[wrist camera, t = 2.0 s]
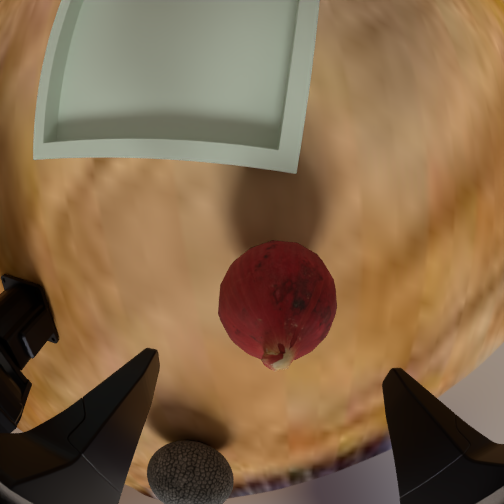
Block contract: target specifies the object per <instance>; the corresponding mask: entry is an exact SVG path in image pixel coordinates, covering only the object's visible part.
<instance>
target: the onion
mask: <svg viewBox="0 0 504 504" xmlns="http://www.w3.org/2000/svg"><path fill="white" fill-rule="evenodd" d="M336 309H337V302H336V289H335V284H334V279H333V278H332V276H331V274H330V273H329V271H328V269H327V268H326V266H325V264H324V263H323V261H322V260H321V259H320V257H319V256H318V255H317V254H316V253H314V252H312V251H310V250H309V249H307V248H305V247H304V246H302V245H300V244H298V243H295V242H285V241H274V240H272V241H270V242H267V243H264V244H261V245H258V246H255V247H252V248H250V249H249V250H248V251H246V252H245V253H244V254H243V255H241V256H240V257H239V258H237V259H236V260H235V261H234V262H233V263H232V264H231V266H230V267H229V269H228V271H227V273H226V275H225V277H224V279H223V281H222V283H221V285H220V296H219V309H218V314H219V317H220V320H221V322H222V324H223V326H224V328H225V330H226V332H227V333H228V335H229V337H230V339H231V340H232V341H233V342H234V343H235V344H236V345H237V346H239V347H240V348H241V349H242V350H244V351H245V352H246V353H248V354H249V355H251V356H254V357H256V358H259V359H261V360H262V362H263V364H264V365H265V366H266V367H268V368H269V369H271V370H273V371H278V370H281V369H288V367H289V365H290V364H291V363H292V361H293V360H296V359H298V358H300V357H302V356H304V355H306V354H308V353H310V352H311V351H313V350H314V349H315V348H316V347H317V346H318V345H319V343H320V342H321V341H322V340H323V339H324V338H325V337H326V336H327V334H328V332H329V330H330V327H331V325H332V322H333V320H334V317H335V314H336Z"/></svg>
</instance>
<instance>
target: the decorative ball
mask: <svg viewBox="0 0 504 504" xmlns="http://www.w3.org/2000/svg"><path fill="white" fill-rule="evenodd" d="M147 478H148V482H149V485H150V487H151V489H152V491H153V493H154V494H155V495H156V497H157V498H158V499H159V500H160V501H162V502H163V503H164V504H223V503H224V502H225V500H226V499H227V498H228V497H229V495H230V493H231V491H232V488H233V473H232V470H231V467H230V465H229V463H228V462H227V460H226V459H225V458H224V456H223V455H222V454H220V453H219V452H218V451H217V450H215V449H214V448H212V447H210V446H208V445H206V444H203V443H200V442H196V441H187V440H185V441H176V442H172V443H169V444H167V445H165V446H163V447H161V448H160V449H159V450H158V451H156V452H155V454H154V455H153V456H152V458H151V459H150V461H149V464H148V468H147Z"/></svg>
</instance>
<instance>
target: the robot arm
mask: <svg viewBox="0 0 504 504" xmlns="http://www.w3.org/2000/svg"><path fill="white" fill-rule="evenodd" d="M1 280H2V283H3V287H4V291H3V292H2V293H1V294H0V504H118V503H119V499H120V496H121V493H122V490H123V486H124V483H125V480H126V477H127V474H128V471H129V468H130V465H131V462H132V459H133V456H134V453H135V450H136V447H137V444H138V441H139V438H140V435H141V432H142V429H143V427H144V424H145V421H146V418H147V415H148V413H149V410H150V407H151V404H152V399H153V395H154V391H155V386H156V382H157V378H158V374H159V369H160V363H159V355H158V351H157V350H156V349H151V348H146V349H144V350H143V351H142V352H140V353H139V354H138V355H137V356H135V357H134V358H133V359H131V360H130V361H129V362H128V363H126V364H125V365H124V366H122V367H121V368H120V369H119V370H117V371H116V372H115V373H113V374H112V375H111V376H110V377H108V378H107V379H106V380H104V381H103V382H102V383H100V384H99V385H98V386H97V387H95V388H94V389H93V390H91V391H90V392H89V393H87V394H86V395H85V396H84V397H83V398H81V399H79V400H78V401H77V402H76V403H74V404H73V405H71V406H70V407H69V408H67V409H66V410H64V411H63V412H61V413H59V414H58V415H56V416H55V417H53V418H51V419H49V420H48V421H46V422H44V423H42V424H40V425H39V426H37V427H35V428H33V429H31V430H29V431H27V432H23V433H15V434H14V433H11V432H12V431H13V430H14V429H16V428H17V424H18V423H19V421H20V419H21V416H22V413H23V409H24V406H25V403H26V400H27V397H28V394H29V391H30V389H31V386H32V383H31V382H30V381H29V380H28V379H27V378H26V377H25V376H24V375H23V373H22V372H21V371H20V370H22V369H23V368H24V367H25V365H26V364H27V363H28V361H29V360H30V359H31V358H34V357H35V356H36V355H37V353H38V352H39V351H40V349H41V348H42V347H43V346H44V344H45V343H46V342H47V341H50V342H53V343H57V342H58V341H59V338H58V335H57V332H56V329H55V326H54V323H53V320H52V317H51V314H50V310H49V307H48V304H47V300H46V297H45V293H44V290H43V288H42V287H41V286H40V285H38V284H35V283H31V282H28V281H25V280H22V279H19V278H16V277H13V276H10V275H7V274H3V275H2V276H1ZM382 388H383V396H384V404H385V413H386V419H387V424H388V429H389V434H390V439H391V444H392V450H393V455H394V460H395V467H396V473H397V481H398V488H399V495H400V504H504V444H497V443H494V442H492V441H491V440H489V439H488V438H486V437H485V436H483V435H482V434H481V433H479V432H478V431H476V430H475V429H474V428H472V427H471V426H469V425H468V424H467V423H466V422H464V421H463V420H462V419H461V418H459V417H458V416H457V415H455V414H454V412H452V411H451V410H450V409H449V408H448V407H446V406H445V405H444V404H443V403H442V402H441V401H439V400H438V399H437V398H436V397H435V396H434V395H432V394H431V393H430V392H429V391H428V390H426V389H425V388H424V387H423V386H422V385H421V384H419V383H418V382H417V381H416V380H415V379H413V378H412V377H411V376H410V375H409V374H407V373H406V372H405V371H404V370H403V369H401V368H392V369H391V370H390V371H389V373H388V374H387V376H386V377H385V379H384V381H383V384H382Z"/></svg>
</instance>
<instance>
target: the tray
mask: <svg viewBox="0 0 504 504" xmlns="http://www.w3.org/2000/svg"><path fill="white" fill-rule="evenodd" d="M319 2H320V0H62V1H61V3H60V6H59V9H58V11H57V14H56V17H55V20H54V24H53V27H52V30H51V33H50V37H49V41H48V45H47V48H46V53H45V57H44V61H43V66H42V71H41V77H40V83H39V89H38V96H37V104H36V113H35V125H34V144H33V160H38V159H55V158H85V157H121V158H152V159H171V160H185V161H198V162H209V163H219V164H228V165H237V166H245V167H253V168H260V169H268V170H274V171H281V172H287V173H294V174H296V173H297V167H298V161H299V155H300V148H301V142H302V135H303V129H304V122H305V115H306V108H307V101H308V94H309V87H310V80H311V72H312V64H313V56H314V48H315V39H316V31H317V22H318V12H319Z"/></svg>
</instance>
